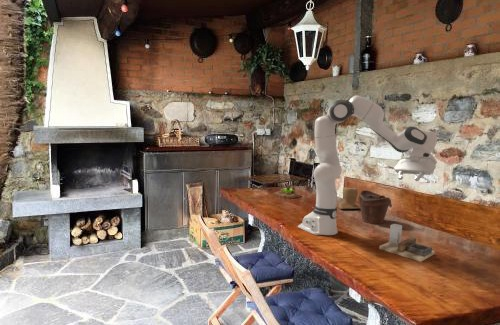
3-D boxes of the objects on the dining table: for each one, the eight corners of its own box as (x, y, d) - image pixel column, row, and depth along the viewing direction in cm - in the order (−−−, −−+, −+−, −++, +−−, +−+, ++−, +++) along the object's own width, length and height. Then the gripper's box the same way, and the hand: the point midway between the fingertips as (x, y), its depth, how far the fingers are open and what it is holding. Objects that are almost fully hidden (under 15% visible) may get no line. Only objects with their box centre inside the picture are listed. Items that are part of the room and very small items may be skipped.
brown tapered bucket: (391, 227, 212) (393, 197, 210) (355, 223, 218) (357, 194, 216) (389, 219, 229) (392, 191, 226) (357, 215, 235) (359, 188, 233)
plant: (287, 192, 303) (287, 179, 302) (304, 196, 289) (305, 183, 287) (269, 195, 291) (270, 181, 289) (287, 199, 276) (287, 185, 274)
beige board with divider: (379, 248, 175) (380, 237, 175) (393, 242, 185) (394, 232, 185) (420, 261, 160) (422, 250, 160) (434, 254, 170) (435, 242, 170)
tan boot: (353, 206, 261) (355, 185, 259) (361, 210, 250) (363, 189, 248) (334, 206, 258) (335, 186, 256) (341, 210, 247) (342, 189, 245)
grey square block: (388, 244, 177) (390, 225, 176) (392, 242, 180) (394, 223, 179) (396, 246, 174) (398, 227, 173) (400, 245, 177) (402, 225, 176)
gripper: (398, 154, 193) (387, 174, 189) (434, 154, 175) (423, 177, 171) (404, 161, 195) (393, 181, 191) (440, 162, 178) (429, 184, 173)
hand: (407, 179), depth 181 cm, fingers open, 8 cm apart
